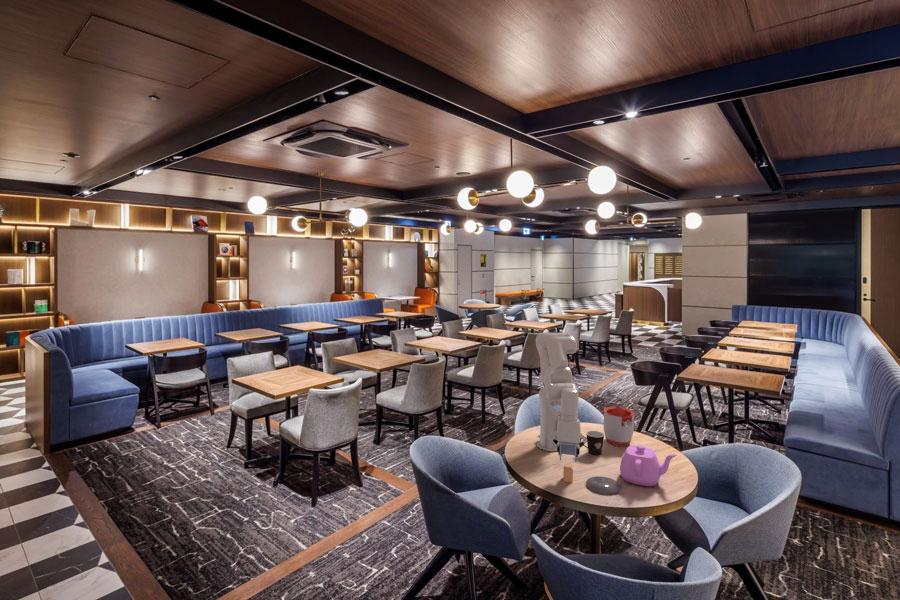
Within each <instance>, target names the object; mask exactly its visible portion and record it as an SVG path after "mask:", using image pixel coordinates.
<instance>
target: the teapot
mask: <svg viewBox="0 0 900 600" xmlns="http://www.w3.org/2000/svg"><path fill="white" fill-rule="evenodd" d="M677 456H678V455H677V454H674V453H673V454H668V455H666V457H665V459H664V462H663V463H662V464H660V461H659V459H658V456H657V453H656V452H655V449H653V448H651V447H646V446H645V445H643V444H638V445H635V444H632V445H628V447H627V448H626V449H625V451H624V453H623V455H622V458H621V461H620V465H619V471H620V472H619V473H620V475H621V477H622V479H623V480H624V481H625V482H628V483H631V484H634V485H638V486H645V487H654V486H655V485H656V484H657V483H658V481H660V479H661V476H663V475H665V474H666V473H667V471H668V470H669V466H670V463H671V460H672V459H674V458H675V457H677Z"/></svg>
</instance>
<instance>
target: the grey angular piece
mask: <svg viewBox="0 0 900 600" xmlns="http://www.w3.org/2000/svg"><path fill="white" fill-rule="evenodd" d="M576 449H577V444H575V443H566V442H560V455H559V461H561V460H562V455H567V456H574V462H575V463H577V457H576Z"/></svg>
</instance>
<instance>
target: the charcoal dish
mask: <svg viewBox="0 0 900 600" xmlns="http://www.w3.org/2000/svg"><path fill="white" fill-rule="evenodd" d="M585 484H586V487H587V488H588V489H589V490H590V491H592V492H594V493H596V492H597V494H599V493H600V494H599V495H605V494H606V495H608V496H609V495H610V496H611V495H612V494H613V495H617V494H618V493H620V492H621V489H622V488H621V487H622V486H621V484H620V482H618V481H617V480H615V479H613V478H611V477H606V476H602V475H601V476H591V477H589V478H587V479H586V483H585ZM613 495H612V496H613Z"/></svg>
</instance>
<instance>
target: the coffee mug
mask: <svg viewBox="0 0 900 600" xmlns="http://www.w3.org/2000/svg"><path fill="white" fill-rule="evenodd" d="M585 434H586V438H587V440H588V441H587V442H586V443H587V446H586V445H585V444H584V445H583V446H582V447H585V448H587V453H588V454H589V455H590V454H591V456H593V455H594V456H595V457H600V456H602V453H603V446H604V438H605V433H604V432H601V431H598V430H588V431H586V433H585ZM582 440H583V439H582V438H581V440H580V443H581V442H582ZM599 455H600V456H599Z"/></svg>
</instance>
